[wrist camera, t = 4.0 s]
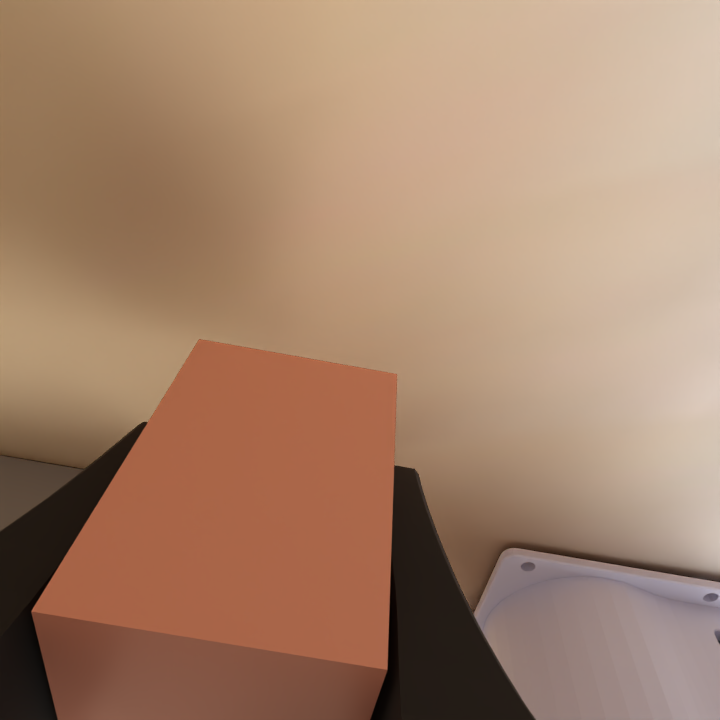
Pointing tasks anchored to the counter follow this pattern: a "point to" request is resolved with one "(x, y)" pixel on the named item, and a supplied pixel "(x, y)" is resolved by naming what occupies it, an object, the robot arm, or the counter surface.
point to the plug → (235, 552)
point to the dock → (28, 485)
